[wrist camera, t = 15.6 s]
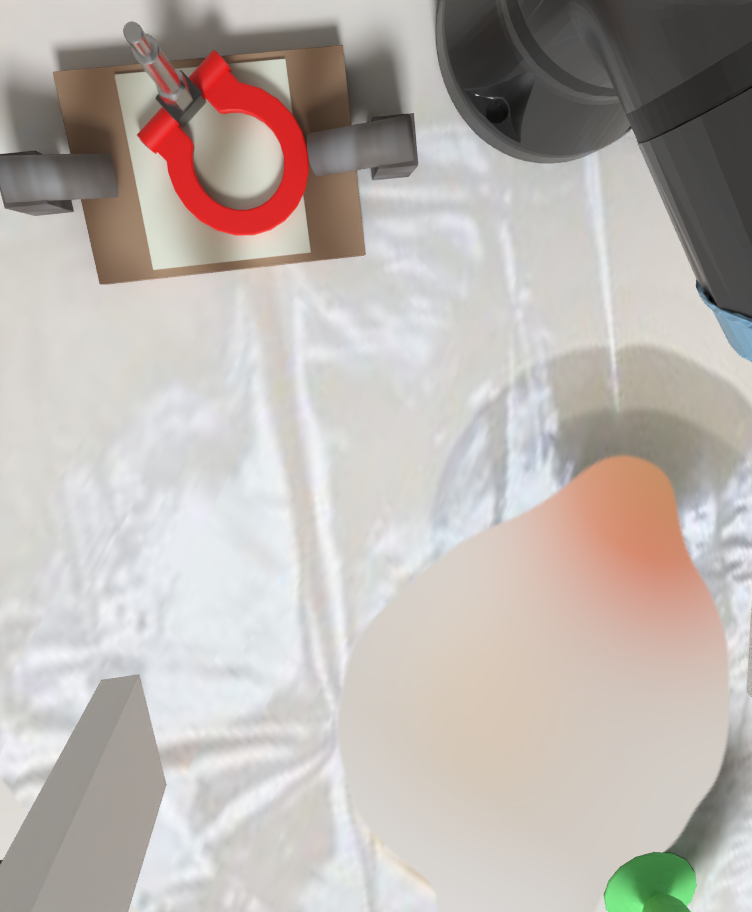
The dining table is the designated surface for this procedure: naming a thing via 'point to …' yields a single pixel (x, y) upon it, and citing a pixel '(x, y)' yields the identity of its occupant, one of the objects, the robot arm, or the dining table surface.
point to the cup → (651, 885)
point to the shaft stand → (209, 168)
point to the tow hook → (226, 96)
